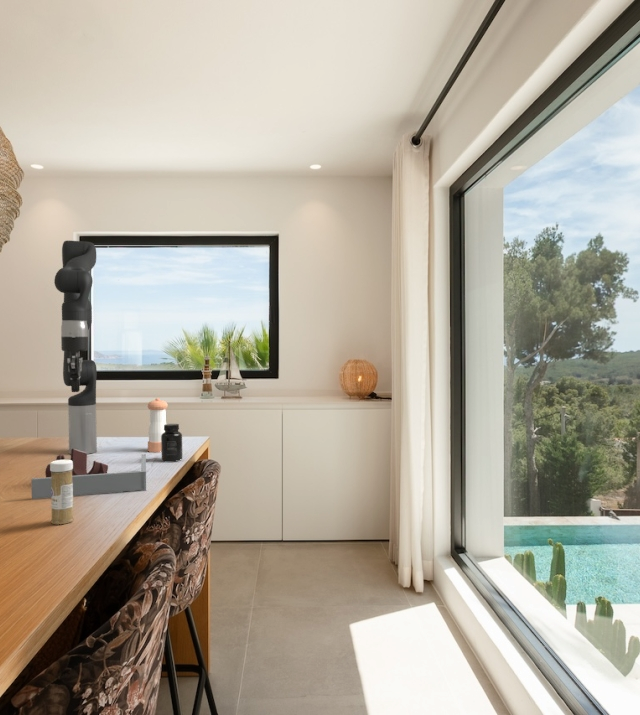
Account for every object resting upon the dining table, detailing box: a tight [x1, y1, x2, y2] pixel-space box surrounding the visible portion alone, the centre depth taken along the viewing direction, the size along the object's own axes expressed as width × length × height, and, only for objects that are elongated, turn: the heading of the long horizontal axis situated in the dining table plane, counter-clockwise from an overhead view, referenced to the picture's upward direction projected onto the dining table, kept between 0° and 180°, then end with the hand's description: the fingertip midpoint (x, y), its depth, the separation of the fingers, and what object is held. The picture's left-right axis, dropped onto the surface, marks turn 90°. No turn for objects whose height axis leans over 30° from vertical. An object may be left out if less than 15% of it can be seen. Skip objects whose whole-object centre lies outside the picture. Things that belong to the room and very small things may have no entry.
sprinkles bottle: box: [49, 459, 74, 525], centre depth 125 cm, size 5×5×13 cm
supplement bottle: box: [160, 423, 183, 462], centre depth 191 cm, size 7×7×12 cm
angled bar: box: [30, 453, 147, 500], centre depth 160 cm, size 25×28×5 cm
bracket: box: [44, 449, 109, 478], centre depth 160 cm, size 6×17×10 cm, turn 81°
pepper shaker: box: [147, 397, 169, 453], centre depth 208 cm, size 7×7×19 cm
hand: (75, 391), depth 176 cm, fingers closed
